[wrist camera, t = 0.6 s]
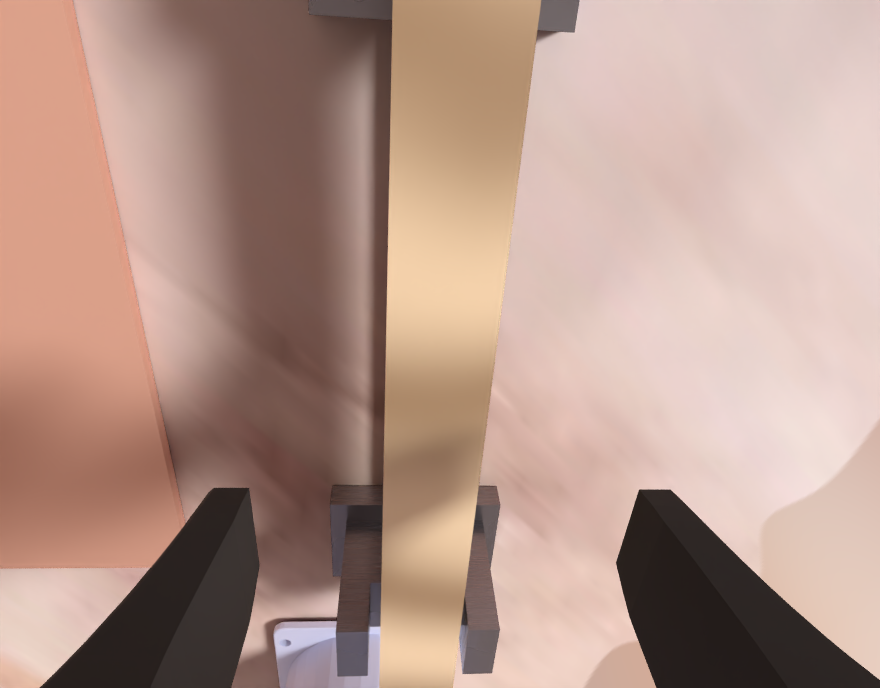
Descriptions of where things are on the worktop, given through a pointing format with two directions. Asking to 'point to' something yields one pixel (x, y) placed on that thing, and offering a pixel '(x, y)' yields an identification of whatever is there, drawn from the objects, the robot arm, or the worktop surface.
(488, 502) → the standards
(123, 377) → the mat
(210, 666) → the robot arm
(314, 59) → the worktop surface
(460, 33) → the rail
